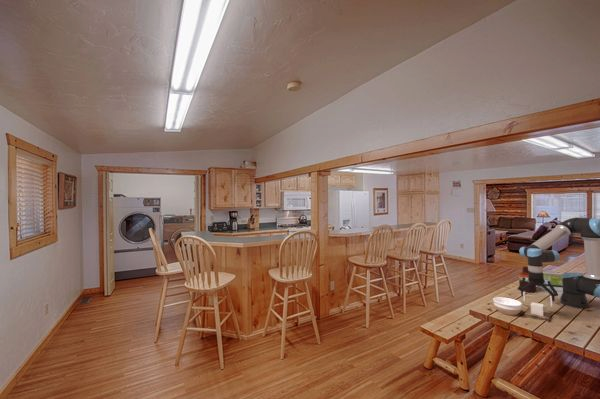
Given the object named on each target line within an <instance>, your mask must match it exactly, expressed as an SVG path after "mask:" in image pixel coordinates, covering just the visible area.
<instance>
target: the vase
mask: <svg viewBox="0 0 600 399" xmlns="http://www.w3.org/2000/svg"><path fill="white" fill-rule="evenodd" d="M528 272H529V270H528V266H522V271H520V272H519V273H518V280H519V281H518V284H519V285H518V287H519V286H520V284H521V282H522V281H523V277H526V278H529V273H528ZM528 283H530V282H529V281H528V280H527V281H525V282H524V284H523V285H522V287H521V289H522V288H523V287H525V286H526V285H527V284H528ZM524 291H525V293H527V292H528V294H535V292H536V293H537V286H534V285H530V286H529V287H528V288H526V289H525V290H524Z"/></svg>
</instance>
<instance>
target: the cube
mask: <svg viewBox="0 0 600 399" xmlns="http://www.w3.org/2000/svg"><path fill="white" fill-rule="evenodd" d="M530 308H531V314H536V315H540V316H543V315H544V311H545V305H544V304H543V303H538V302H534V301H533V302H532V301H531V303H530Z"/></svg>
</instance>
